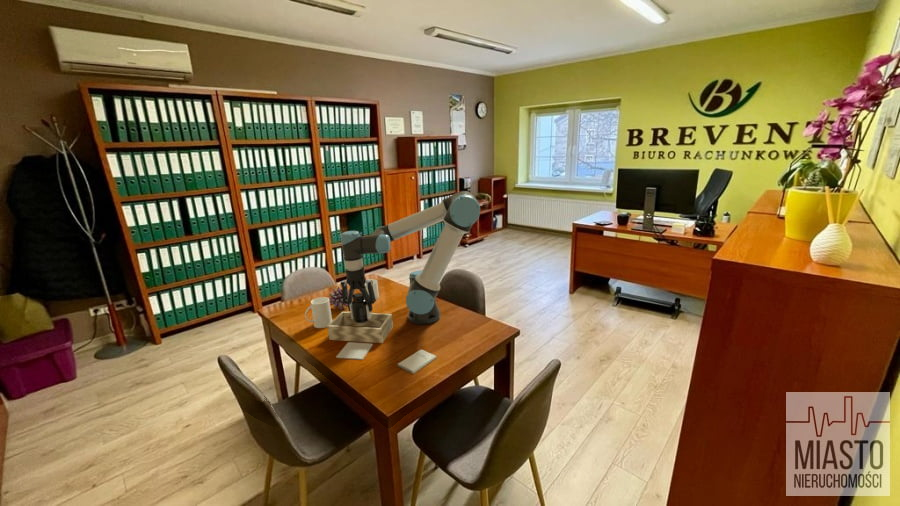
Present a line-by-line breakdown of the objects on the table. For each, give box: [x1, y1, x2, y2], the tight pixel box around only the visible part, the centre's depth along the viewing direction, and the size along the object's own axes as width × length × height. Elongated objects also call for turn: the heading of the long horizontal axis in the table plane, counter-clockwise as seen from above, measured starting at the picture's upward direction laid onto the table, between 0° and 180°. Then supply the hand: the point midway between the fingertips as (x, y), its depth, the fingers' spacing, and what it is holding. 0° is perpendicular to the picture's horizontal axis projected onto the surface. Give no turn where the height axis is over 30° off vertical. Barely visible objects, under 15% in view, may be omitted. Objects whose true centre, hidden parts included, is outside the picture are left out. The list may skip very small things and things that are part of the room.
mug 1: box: [304, 296, 333, 329], centre depth 166 cm, size 12×8×12 cm
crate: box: [326, 311, 394, 344], centre depth 158 cm, size 24×14×6 cm, turn 80°
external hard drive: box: [397, 349, 437, 375], centre depth 136 cm, size 2×8×12 cm
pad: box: [335, 341, 374, 361], centre depth 145 cm, size 11×11×1 cm
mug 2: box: [364, 278, 380, 300], centre depth 195 cm, size 12×9×9 cm
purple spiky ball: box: [328, 285, 349, 310], centre depth 182 cm, size 12×12×12 cm
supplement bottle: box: [351, 292, 369, 323], centre depth 155 cm, size 7×7×12 cm
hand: (361, 317), depth 157 cm, fingers closed on supplement bottle, 7 cm apart
